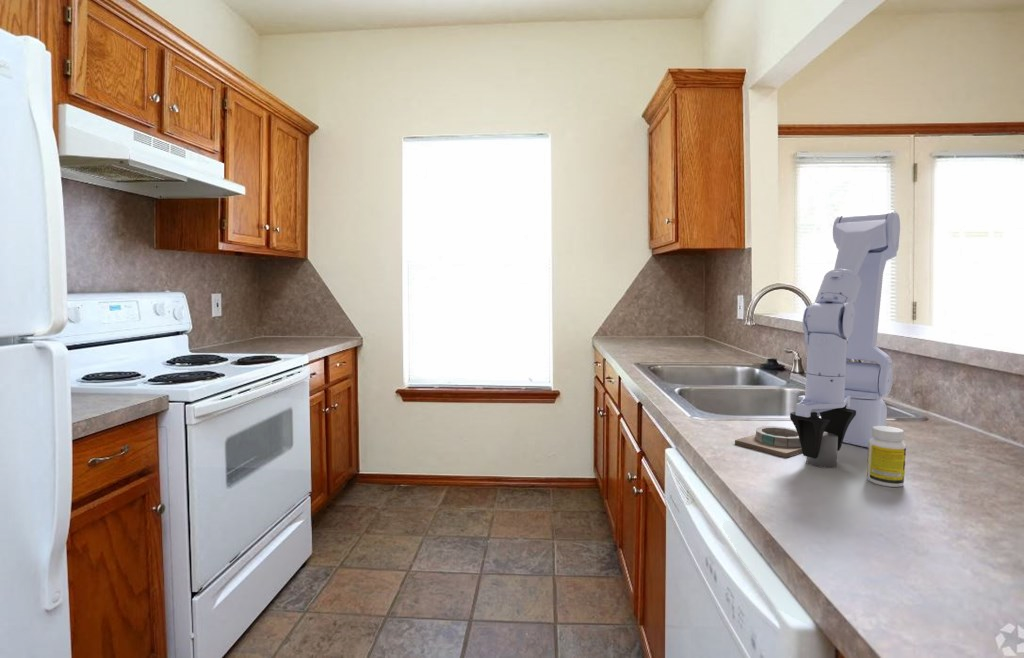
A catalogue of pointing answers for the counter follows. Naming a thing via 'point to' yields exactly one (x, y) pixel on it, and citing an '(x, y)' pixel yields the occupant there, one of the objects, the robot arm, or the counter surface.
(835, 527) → the counter surface
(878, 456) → the supplement bottle
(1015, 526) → the counter surface
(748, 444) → the hub plate
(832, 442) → the knob
